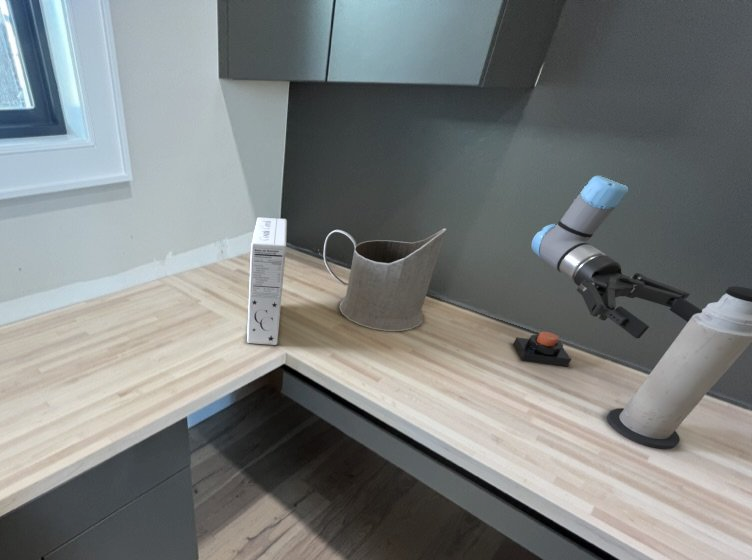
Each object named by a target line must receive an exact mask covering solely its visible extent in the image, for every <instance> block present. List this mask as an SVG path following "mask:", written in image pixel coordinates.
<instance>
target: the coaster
mask: <svg viewBox="0 0 752 560" xmlns="http://www.w3.org/2000/svg"><path fill="white" fill-rule="evenodd" d="M624 408H625V407H624ZM624 408H623V407H619V408H613V409H612V410H610V411H609V412H608V414H607V415H606V419H607V422H608V424H609V425H610V426H611V428H613V430H615V431H616V432H617V433H619V435H622V436H623V437H625V438H626V439H629V440H630V441H633V442H635V443H637V444H640V445H642V446H645V447H648V448H653V449H661V450H668V449H672V448H674V447H676V446H677V445H678V444H679V443H680V440H681V439H680V435H679V434H678V432H677V431H676V430H675V431H674V432H673V433H672V434H671V436H670V437H668V438H666V439H654V438H650V437H646V436H643V435H641V434H638V433H636V432H634V431H632V430H631V429H629V428H628V427H626V426H625V425H624V424H623V423H622V422H621V421H620V418H619V416H620V414H621V412H622V411H623V410H624Z"/></svg>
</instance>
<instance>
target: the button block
mask: <svg viewBox="0 0 752 560" xmlns="http://www.w3.org/2000/svg"><path fill="white" fill-rule="evenodd" d="M538 336H539V333H538V334H531V335H530V337H528V338H525V337H515V339H514V341H513V344H512V346H513V348H514V350H515V351H516V353H517V355H518V356H519V359H520V361H522V362H528V363H536V364H541V365H550V366H555V367H564V368H568V366H569V365H570V363H571V362H572V358H571V357H570V355H569V354H568V352H567V351H566V350H565V348H564V345H563V343H562V342H561V341H560V340H558V341H557V343H556V345H555V346H553V347H552V346H545V345H542V344H540V343H538V342H537V341H536V340H537V338H538Z"/></svg>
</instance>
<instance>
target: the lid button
mask: <svg viewBox="0 0 752 560" xmlns="http://www.w3.org/2000/svg"><path fill="white" fill-rule="evenodd" d="M538 335H539V336H538V338H537V340H536V341H537V342H538V343H540V344H542V345H545V346H552V347H553V346H555V345H556V343H557V341H559V339H560V337H559V335H558V334H555V333H553V332H550V331H541V332H539V333H538Z"/></svg>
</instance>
